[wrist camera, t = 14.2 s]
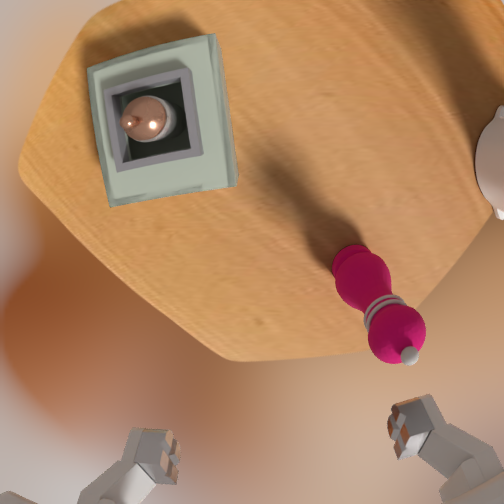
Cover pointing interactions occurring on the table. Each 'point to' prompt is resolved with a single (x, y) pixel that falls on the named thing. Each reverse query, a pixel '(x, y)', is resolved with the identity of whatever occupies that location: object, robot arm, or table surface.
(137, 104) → the canister
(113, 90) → the green square holder
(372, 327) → the pepper mill
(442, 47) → the table surface
